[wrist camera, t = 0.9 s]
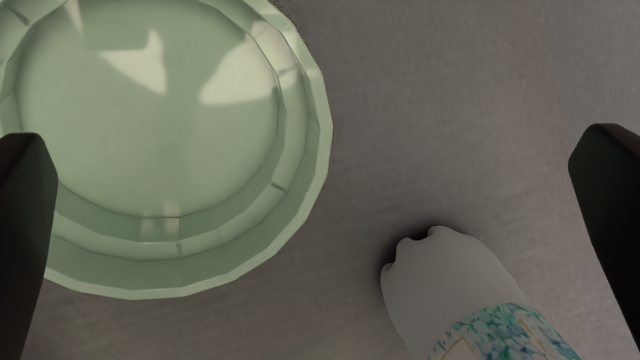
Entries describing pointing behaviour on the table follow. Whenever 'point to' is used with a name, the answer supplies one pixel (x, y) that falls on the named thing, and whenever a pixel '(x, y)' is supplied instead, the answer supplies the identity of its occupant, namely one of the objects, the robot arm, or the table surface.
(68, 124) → the bowl
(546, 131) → the table surface
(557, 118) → the table surface
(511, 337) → the bottle
